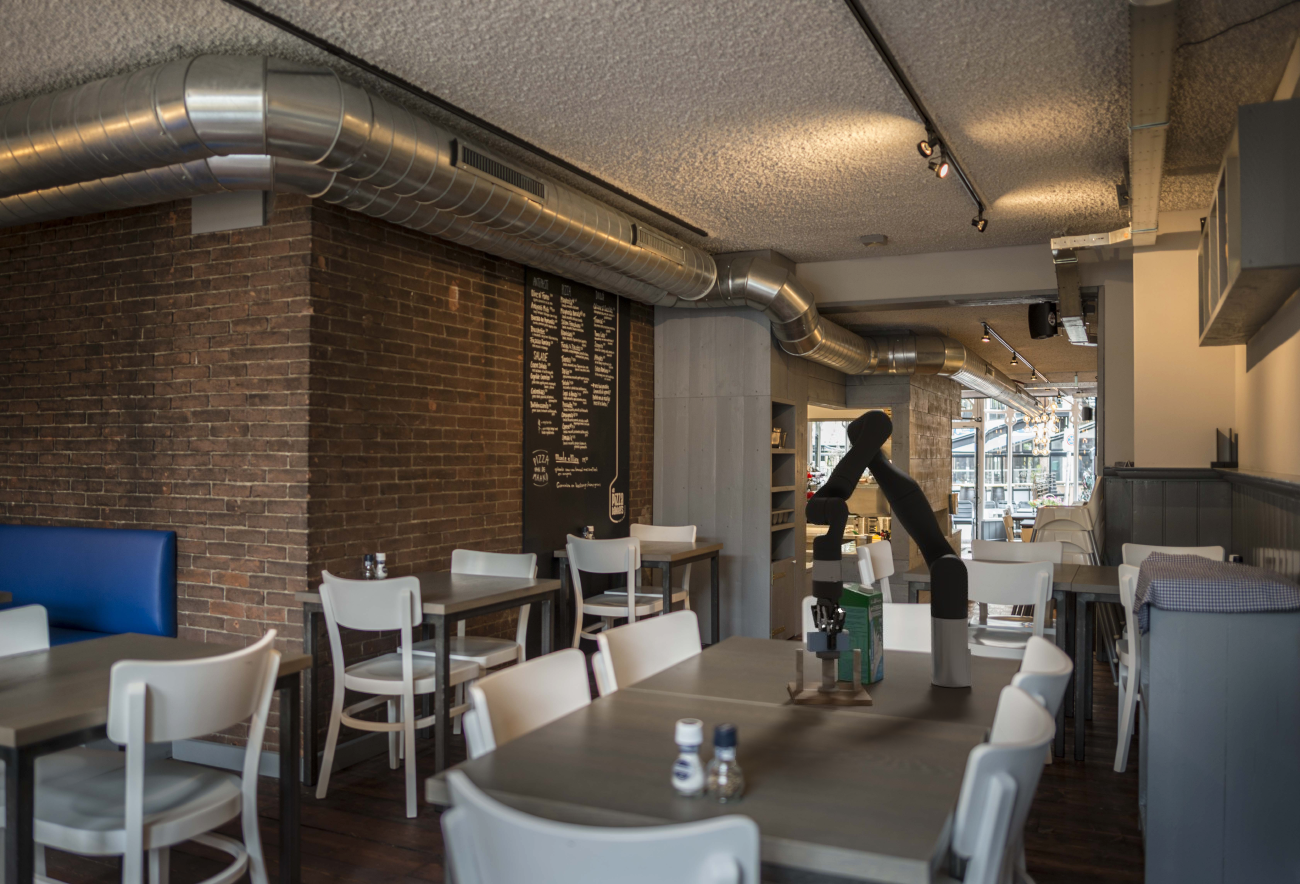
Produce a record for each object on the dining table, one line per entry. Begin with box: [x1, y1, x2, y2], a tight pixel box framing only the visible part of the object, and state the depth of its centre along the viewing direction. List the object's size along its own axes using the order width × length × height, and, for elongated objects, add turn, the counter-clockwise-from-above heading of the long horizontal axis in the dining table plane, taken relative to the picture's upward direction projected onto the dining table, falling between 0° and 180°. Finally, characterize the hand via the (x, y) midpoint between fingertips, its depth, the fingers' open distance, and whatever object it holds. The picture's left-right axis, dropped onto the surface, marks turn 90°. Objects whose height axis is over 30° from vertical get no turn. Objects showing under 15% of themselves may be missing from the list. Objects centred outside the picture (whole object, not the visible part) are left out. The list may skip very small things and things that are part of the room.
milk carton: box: [837, 581, 885, 685], centre depth 248 cm, size 9×9×25 cm
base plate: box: [787, 648, 873, 706], centre depth 229 cm, size 18×18×11 cm
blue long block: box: [806, 629, 849, 660], centre depth 229 cm, size 6×10×6 cm, turn 98°
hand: (828, 648), depth 229 cm, fingers closed on blue long block, 3 cm apart
